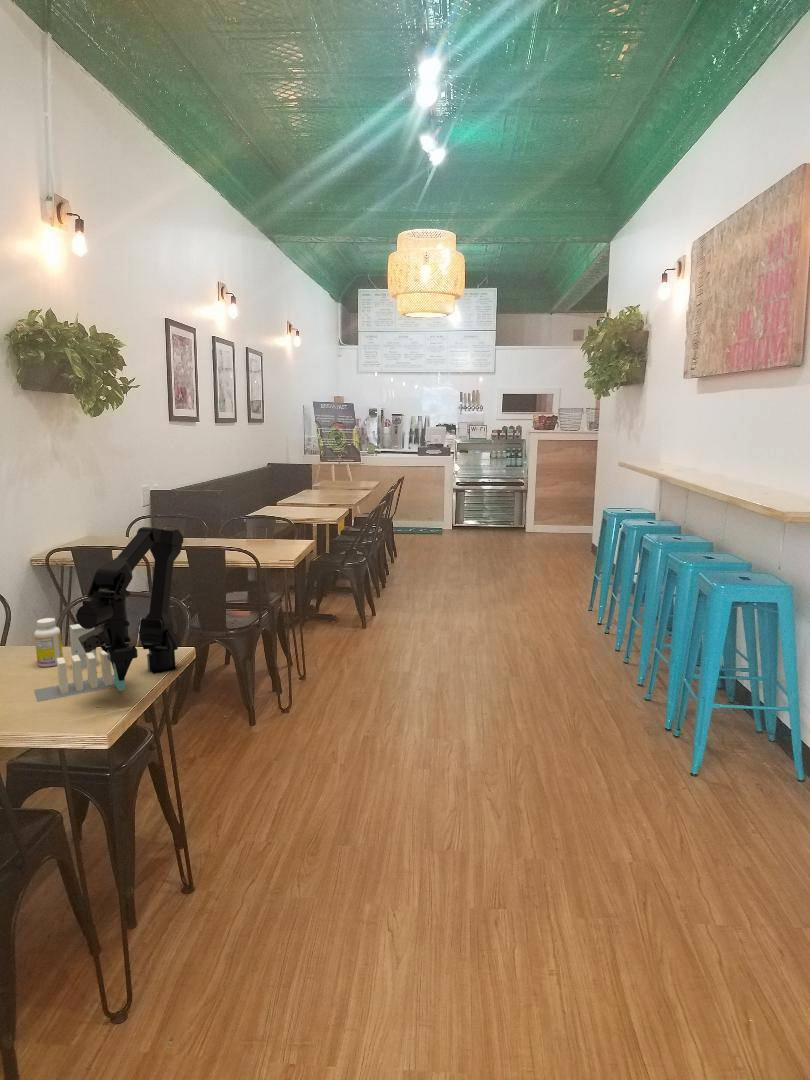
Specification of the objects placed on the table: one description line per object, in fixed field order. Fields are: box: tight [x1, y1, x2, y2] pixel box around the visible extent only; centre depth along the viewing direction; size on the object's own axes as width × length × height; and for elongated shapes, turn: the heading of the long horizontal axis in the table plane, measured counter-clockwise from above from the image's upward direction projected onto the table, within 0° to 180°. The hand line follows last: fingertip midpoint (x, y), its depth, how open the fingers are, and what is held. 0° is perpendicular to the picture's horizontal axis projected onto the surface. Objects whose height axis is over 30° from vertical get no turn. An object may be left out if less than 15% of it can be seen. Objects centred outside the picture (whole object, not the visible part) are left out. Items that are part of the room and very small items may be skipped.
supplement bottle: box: [33, 617, 64, 668], centre depth 204 cm, size 7×7×13 cm
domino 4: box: [99, 650, 113, 686], centre depth 189 cm, size 2×5×8 cm, turn 32°
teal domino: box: [112, 663, 126, 691], centre depth 181 cm, size 2×5×8 cm, turn 32°
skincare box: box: [69, 623, 98, 670], centre depth 201 cm, size 6×4×12 cm
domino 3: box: [86, 653, 98, 689], centre depth 187 cm, size 2×5×8 cm, turn 32°
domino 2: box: [70, 655, 84, 691], centre depth 185 cm, size 2×5×8 cm, turn 32°
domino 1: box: [56, 656, 69, 694], centre depth 183 cm, size 2×5×8 cm, turn 32°
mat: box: [33, 674, 117, 703], centre depth 186 cm, size 20×9×1 cm, turn 122°
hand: (119, 677), depth 181 cm, fingers closed on teal domino, 5 cm apart
